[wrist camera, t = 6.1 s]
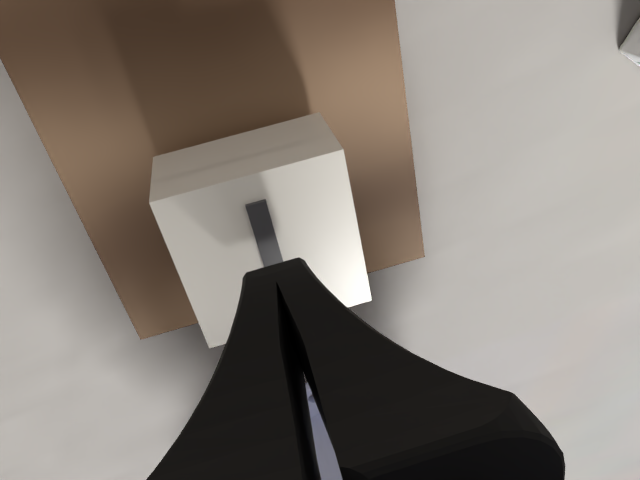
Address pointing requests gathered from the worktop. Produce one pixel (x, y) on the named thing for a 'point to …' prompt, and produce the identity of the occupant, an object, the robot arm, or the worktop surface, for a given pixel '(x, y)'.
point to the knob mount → (207, 113)
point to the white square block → (258, 215)
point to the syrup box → (632, 44)
